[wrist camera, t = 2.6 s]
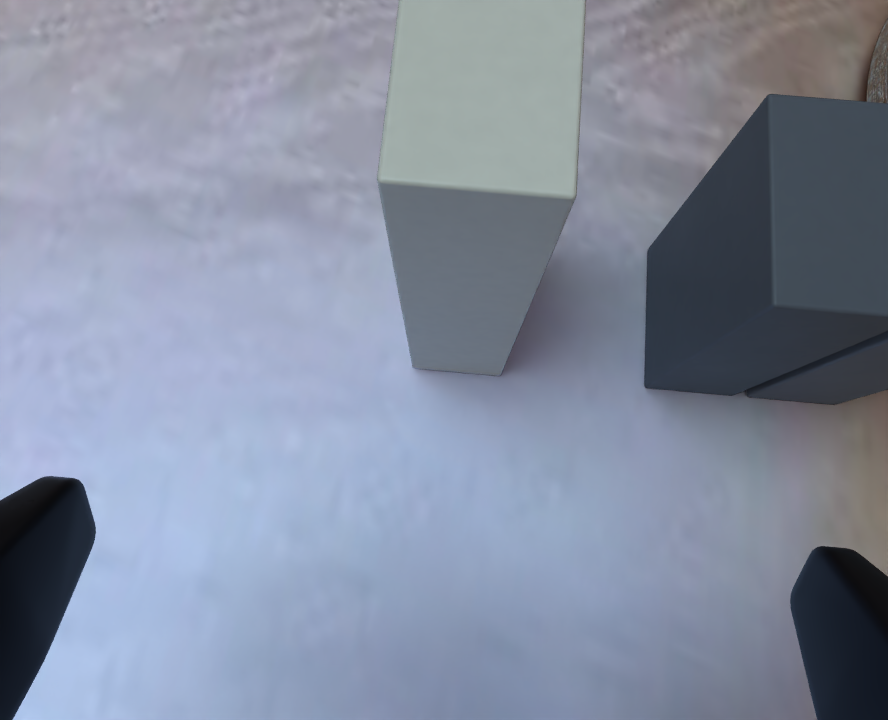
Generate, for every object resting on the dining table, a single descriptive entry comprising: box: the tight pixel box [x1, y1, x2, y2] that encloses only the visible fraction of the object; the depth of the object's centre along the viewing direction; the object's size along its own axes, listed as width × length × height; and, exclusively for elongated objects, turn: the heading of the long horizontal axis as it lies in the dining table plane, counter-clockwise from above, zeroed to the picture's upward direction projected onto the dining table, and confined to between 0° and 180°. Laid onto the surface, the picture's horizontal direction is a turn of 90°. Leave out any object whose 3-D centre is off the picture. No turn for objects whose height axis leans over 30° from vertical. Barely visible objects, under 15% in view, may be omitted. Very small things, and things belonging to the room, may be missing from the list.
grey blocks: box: [645, 94, 888, 405], centre depth 19 cm, size 6×5×9 cm
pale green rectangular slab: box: [377, 0, 586, 376], centre depth 17 cm, size 3×5×13 cm, turn 175°
